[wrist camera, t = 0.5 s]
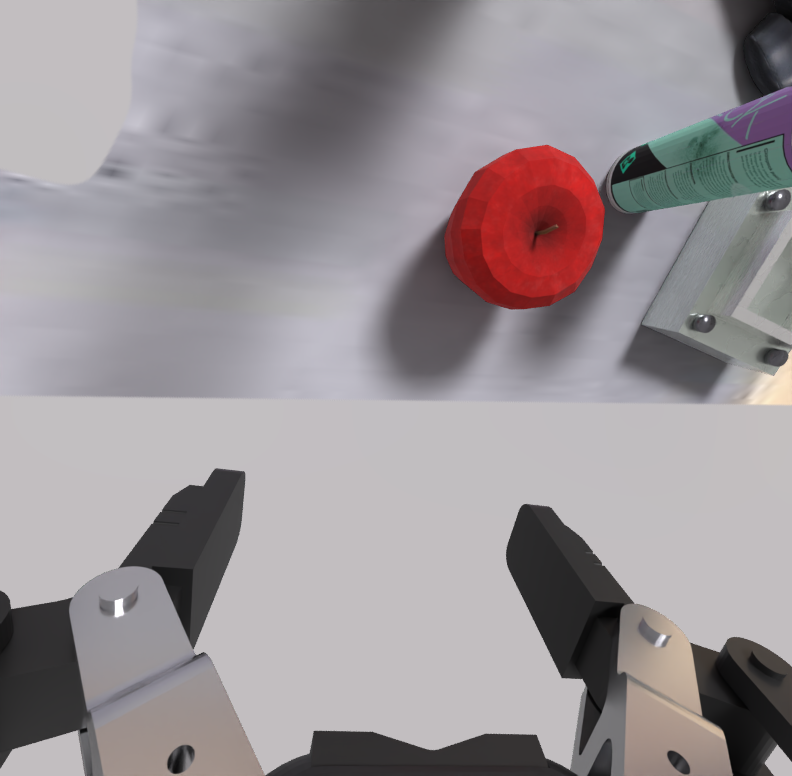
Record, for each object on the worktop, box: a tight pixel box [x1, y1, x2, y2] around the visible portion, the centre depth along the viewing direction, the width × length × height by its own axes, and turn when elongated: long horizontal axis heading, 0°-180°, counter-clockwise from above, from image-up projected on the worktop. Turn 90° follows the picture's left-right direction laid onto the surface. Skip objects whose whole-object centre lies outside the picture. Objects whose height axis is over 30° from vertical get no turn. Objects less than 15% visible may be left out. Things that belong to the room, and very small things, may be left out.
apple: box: [444, 145, 605, 309], centre depth 31 cm, size 11×10×14 cm
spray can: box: [606, 85, 792, 214], centre depth 27 cm, size 6×6×20 cm
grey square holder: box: [641, 187, 792, 376], centre depth 37 cm, size 14×12×8 cm
